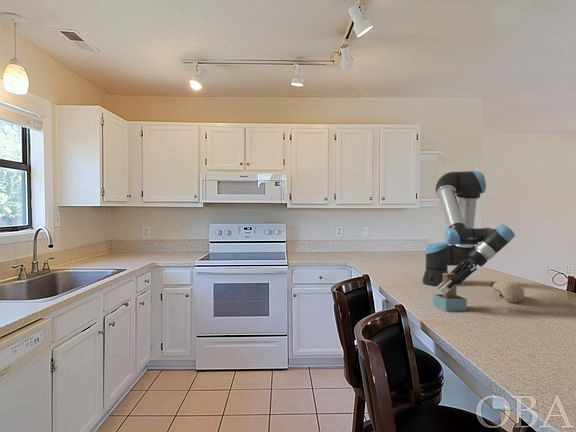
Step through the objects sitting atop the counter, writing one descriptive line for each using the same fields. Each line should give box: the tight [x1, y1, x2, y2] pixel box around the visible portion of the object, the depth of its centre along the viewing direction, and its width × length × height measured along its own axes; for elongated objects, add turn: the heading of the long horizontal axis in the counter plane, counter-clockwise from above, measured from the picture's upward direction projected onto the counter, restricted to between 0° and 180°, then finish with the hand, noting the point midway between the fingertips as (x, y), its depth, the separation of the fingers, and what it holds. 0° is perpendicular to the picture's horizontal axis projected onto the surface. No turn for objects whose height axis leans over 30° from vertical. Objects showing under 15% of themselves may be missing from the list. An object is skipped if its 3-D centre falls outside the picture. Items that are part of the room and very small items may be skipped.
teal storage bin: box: [432, 293, 468, 312], centre depth 155 cm, size 10×10×5 cm
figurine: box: [489, 280, 525, 304], centre depth 173 cm, size 12×9×30 cm
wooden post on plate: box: [442, 272, 457, 299], centre depth 155 cm, size 4×4×11 cm
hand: (440, 291), depth 156 cm, fingers closed on wooden post on plate, 4 cm apart
